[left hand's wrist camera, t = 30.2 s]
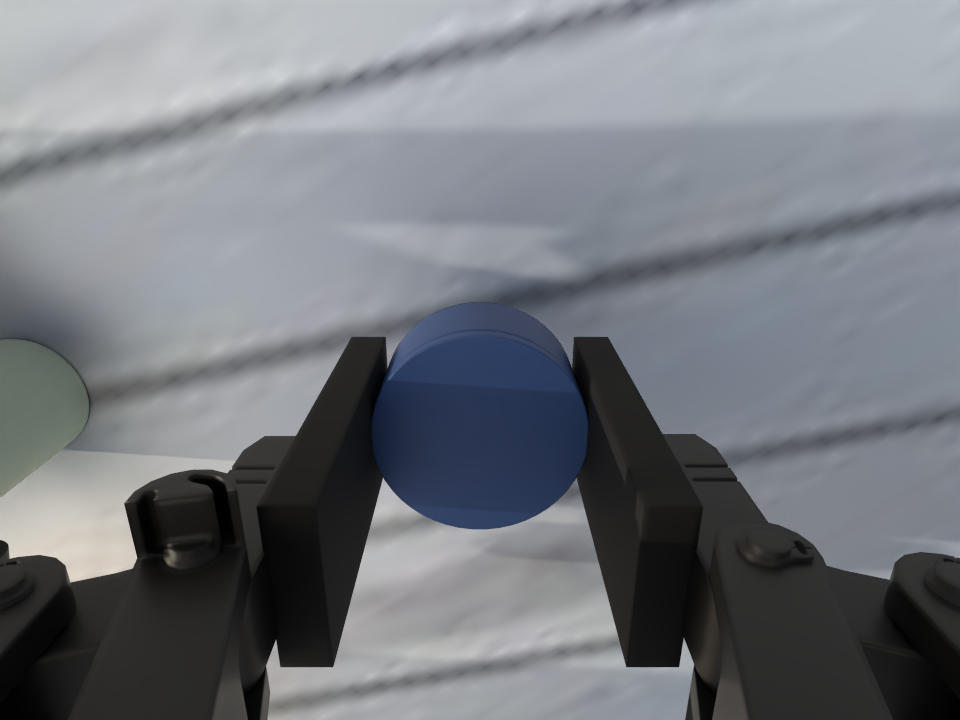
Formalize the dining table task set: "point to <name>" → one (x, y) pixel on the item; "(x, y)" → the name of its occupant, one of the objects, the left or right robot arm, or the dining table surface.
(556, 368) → the cap
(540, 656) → the dining table surface
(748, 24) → the dining table surface
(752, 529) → the left robot arm
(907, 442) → the dining table surface
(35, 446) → the bottle
